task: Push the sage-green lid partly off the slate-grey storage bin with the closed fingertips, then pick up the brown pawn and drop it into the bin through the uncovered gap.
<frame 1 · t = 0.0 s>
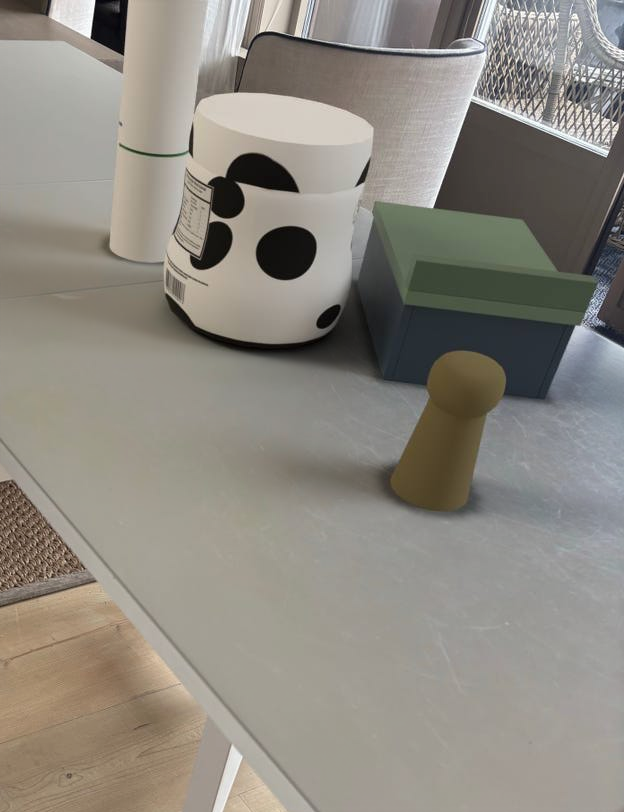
cylindrical container: (142, 256, 104), on the table
bin: (441, 342, 95), on the table
bin lid: (466, 264, 89), point 8 cm above the table, touching bin
brown pawn: (425, 497, 74), on the table
milk container: (247, 324, 93), on the table
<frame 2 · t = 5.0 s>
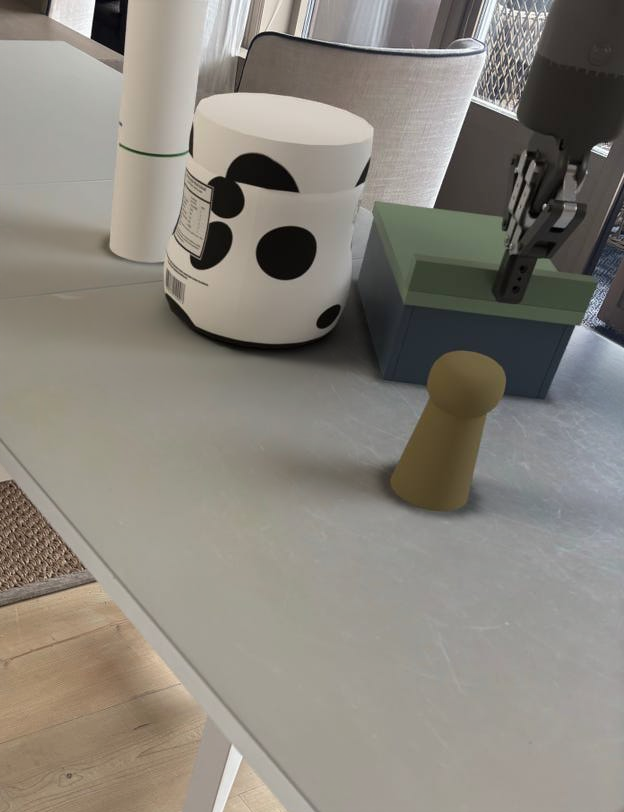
hand: (505, 299, 79), 10 cm above the table, tool pointing down, fingers closed
bin lid: (466, 264, 89), point 8 cm above the table, touching bin, gripper
everything else where it was.
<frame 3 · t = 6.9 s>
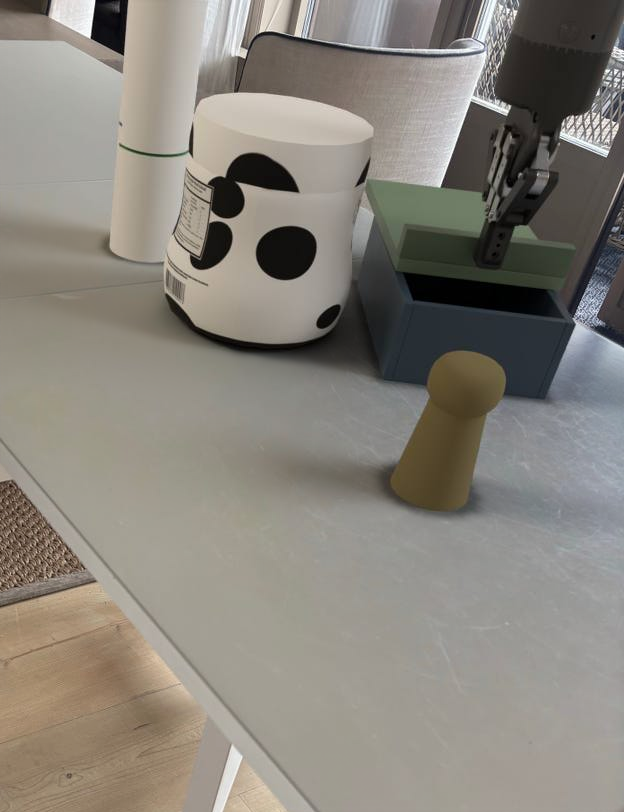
hand: (485, 265, 84), 10 cm above the table, tool pointing down, fingers closed
bin lid: (454, 236, 95), point 8 cm above the table, touching bin
everything else where it was.
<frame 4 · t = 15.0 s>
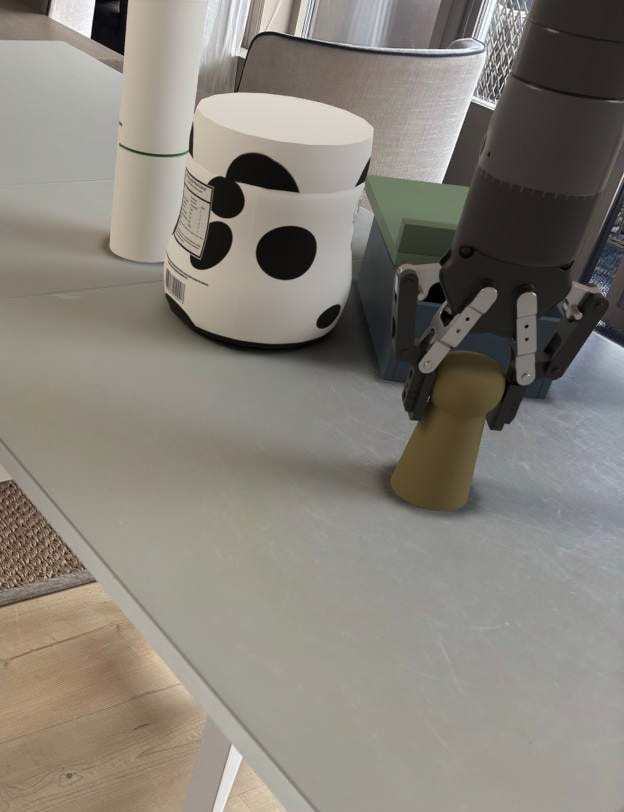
hand: (453, 419, 69), 6 cm above the table, tool pointing down, fingers closed on brown pawn, 5 cm apart
bin lid: (451, 231, 96), point 8 cm above the table, touching bin
brown pawn: (426, 497, 74), on the table, touching gripper
everything else where it was.
when the fingers open (13 cm above the table, at t = 22.4 s): brown pawn drops 4 cm, resting on bin.
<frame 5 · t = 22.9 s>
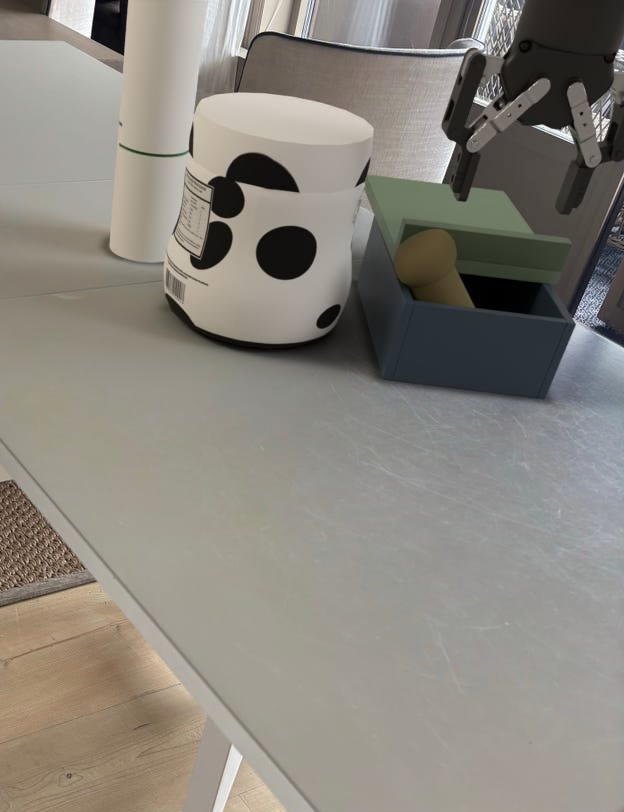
hand: (510, 205, 80), 15 cm above the table, tool pointing down, fingers open, 8 cm apart
brown pawn: (456, 351, 88), point 2 cm above the table, touching bin
everything else where it was.
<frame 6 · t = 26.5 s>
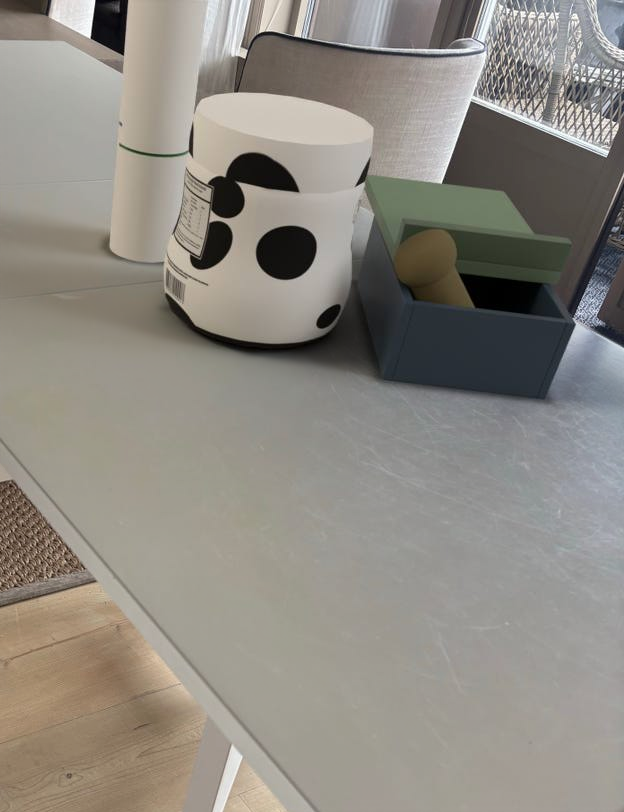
nothing on the table moved.
at the end: bin lid 0.7 cm from the target spot on the bin, point 7.6 cm above the bin's base; brown pawn inside the target area in the bin (6.5 cm from its centre), point 2.1 cm above the bin's base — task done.
